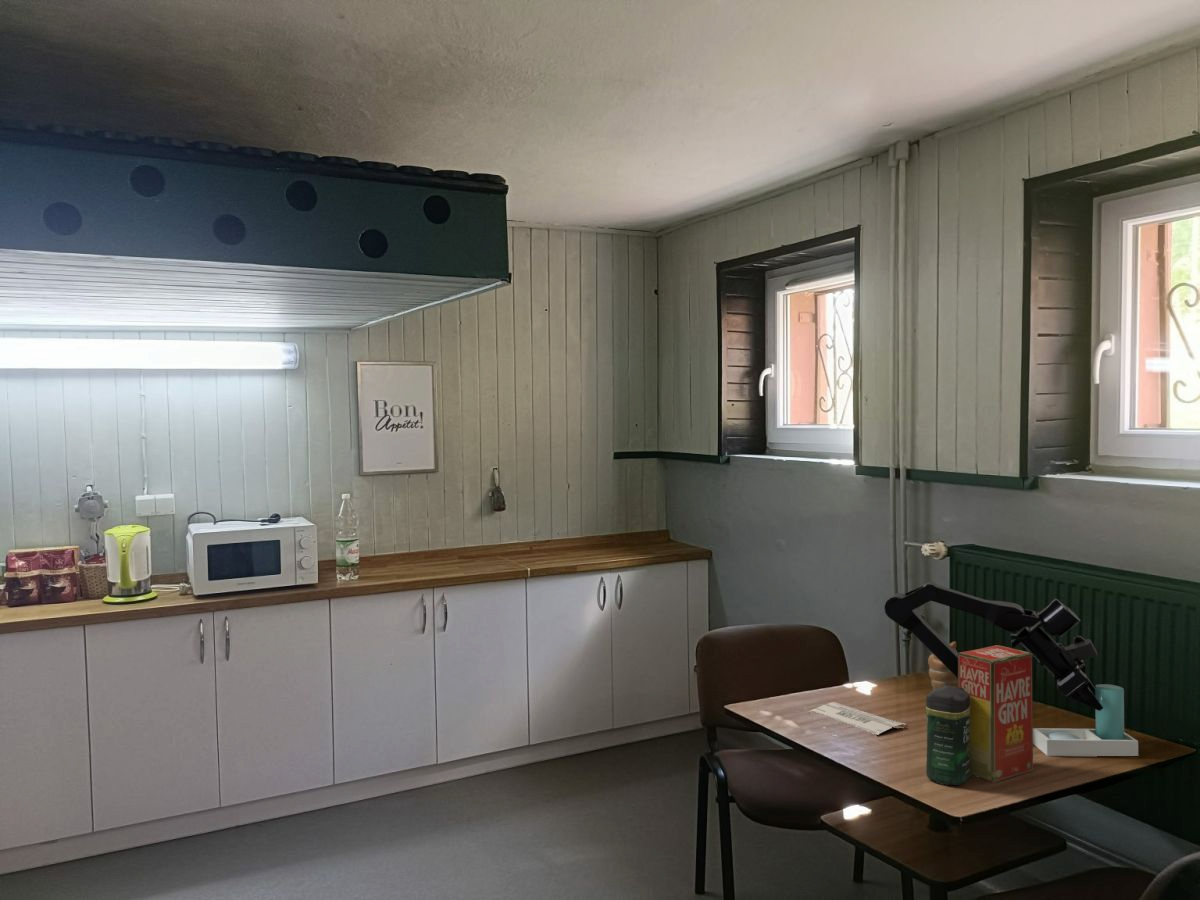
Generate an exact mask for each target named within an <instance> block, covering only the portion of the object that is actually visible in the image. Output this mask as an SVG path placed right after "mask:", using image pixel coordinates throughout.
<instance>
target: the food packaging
mask: <svg viewBox="0 0 1200 900" xmlns="http://www.w3.org/2000/svg"><path fill="white" fill-rule="evenodd" d="M957 653H958V687H960V688H963V689H964V690H965V691H966V692H967V693H968V694H969V695H970V762H971V775H972V776H975V777H977V776H978V777H977V778H981V779H983V780H985V781H988V782H991V783H993V782H995V783H997V782H1001V781H1003V780H1007V779H1011V778H1014V777H1017V776H1021V775H1023V774H1027V773H1030V772H1033V771H1034V744H1033V728H1034V727H1033V719H1034V718H1033V717H1034V716H1033V713H1034V710H1033V707H1034V706H1033V705H1034V704H1033V703H1034V701H1033V699H1034V698H1033V697H1034V696H1033V654H1032V653H1030V652H1029V651H1025V650H1021V649H1017V648H1013V647H1007V646H1004V645H999V644H998V645H997V644H996V645H992V646H987V647H981V648H978V649H973V650H968V651H963V652H962V651H961V652H957Z"/></svg>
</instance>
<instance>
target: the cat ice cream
mask: <svg viewBox="0 0 1200 900" xmlns="http://www.w3.org/2000/svg"><path fill="white" fill-rule="evenodd" d="M948 644H949V645H950V646H951V647H952V648H953V649H954V650H955V651H956V652H957V653H958V651H957V641H955V640H954V641H952V642H950V643H948ZM927 659H928V660H927V663H928V666H929V670H928V676H929V678H930V679H931V683H930V684H931V686H932V689H933V690H935V689H937V688H940V687H943V686H944V685H948V686H954V687H958V679H957V677H956V676H955V675H954V674H953V673H952V672H951V671H950V670H949V669H948V668H947V667H946V666H945V665H944V664H943V663H942V662H941V661H940V660H939V659H938V658H937V657H936V656H935V655H934V654H933V653H931V654H930V655H929V657H928V658H927Z"/></svg>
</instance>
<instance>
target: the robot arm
mask: <svg viewBox="0 0 1200 900" xmlns="http://www.w3.org/2000/svg"><path fill="white" fill-rule="evenodd" d="M928 602H935V603H937V604H941V605H943V606H947V607H949V608H953V609H955V610H959V611H963V612H965V613H969V614H972V615H975V616H979V617H981V618H982V619H985V620H987V621H988V622H989V623H991V624H993V625H995V626H996V627H999V628H1001V629H1003V630H1005V631H1007V632H1011V633H1010V636H1009V637H1010V639H1011V643H1010V644H1011V645H1010V646H1011V648H1013V649H1015V647H1016V646H1018V645H1019V644H1020V645H1022V646H1023V647H1024V648H1025V650H1027V652H1030V653H1032V654H1033V655H1032V657H1033V658H1035V659H1036V660H1037V661H1038V664H1039V665H1040V666H1041V667H1044V668H1045V669H1046V670H1047V671H1048V672H1049V673H1050V674H1051V675H1052V678H1053V679H1054V680H1055V681H1056V688H1057V691H1058V692H1059V693H1060V694H1061V695H1062V696H1063V697H1066V698H1068V699H1069V698H1070V699H1072V700H1074V701H1076V702H1078V703H1081V704H1083V705H1085V706H1088V707H1090V708H1092V709H1094V710H1095V709H1096V710H1099V711H1101V710H1102V709H1103V706H1102V705H1101V704H1100V702H1099V701H1098V700H1097V698H1096V697H1095V686H1094V685H1093V683H1092V682H1091V680H1090V678H1088V676H1087V674H1086V664H1085V663H1084V660H1087V659H1093V658H1097V657H1098V652H1097V650H1096V648H1095V646H1094V643H1093V642H1092V640H1091V639H1089V638H1084V637H1082V636H1081V635H1078V636H1074V637H1073V643H1071V644H1069V645H1067V646H1064V645H1063V644H1062V643H1061V642H1060V643H1059V642H1056V641H1055V640H1054V638H1052V637H1057V636H1059V637H1063V636H1064V635H1065V634H1066V633H1068V632H1069V631H1071V629H1072V628H1073V627H1075V626H1076V625H1078V624H1079V623H1080V622H1081V619H1080V618H1079V617H1078V616H1077V614H1076V613H1075V612H1074V611H1073V610H1072V609H1071V608H1070V607H1068V606H1066V605H1065V604H1064V603H1062V602H1061V601H1060V600H1059V599H1057V598H1054V599H1053V600H1052V601H1051V602H1050V603H1049V604H1048V605H1047V606H1046V607H1044V608H1043V609H1042V610H1041V611H1040V612H1039V611H1037V610H1031V609H1026V608H1025V609H1024V608H1023V606H1021V605H1020V604H1017V603H1014V602H1009V601H1002V600H990V599H984V598H981V597H977V596H974V595H971V594H968V593H964V592H961V591H958V590H955V589H952V588H949V587H945V586H942V585H938V584H937V583H935V582H934V581H933V582H932V581H931V582H930V581H929V582H926V583H924V584H923V585H921V586H919V587H916V588H914V589H911V590H909V591H907V592H905V593H899V592H897V593H893V594H892V595H891V596H890V597H889V598H888V599H887V600H886V601H885V605H884V613H885V615H886V616H887V617H888V618H889V619H890V620H892V621H893V622H894V623H896V624H897V625H899V626H900V627H902V628H904V629H905V630H907V631H909V632H910V633H911V634H913V635H914V636H915V637H916V638H917V639H918V640H919V641H920V642H921V643H922V644H923V645H924V646H925V647H926V648H927V649H928V650H929V652H931V654H934V655H935V656H936V657H937V658H938V659H939V660H940V661H941V662H942V663H943V664H944V665H945V666H946V667H947V668H948V669H949V670H950V671H951V672H952V673H953V674H954V675H955V676H956V677H957V679H958V653H959V652H958V651H957V650H956V651H957V652H956V651H955V650H954V649H953V648H952V647H951V646H950V645H949V644H950V643H948V642H947V641H946V640H944V638H943V637H942V636H941V635H940V634H939V633H938V632H937V631H936V630H935V629H934V628H932V627H931V626H930V624H928V622H927V621H926V620H924V618H923V616H922V614H921V612H920V611H919V609H918V608H920V607H922V606H923V605H925V604H927V603H928ZM1029 627H1030V628H1029ZM1041 627H1042V628H1041ZM1043 628H1044V630H1043ZM1012 632H1013V633H1012ZM1016 632H1018V633H1016ZM1050 635H1051V636H1052V637H1051V636H1050ZM1079 664H1080V665H1079Z"/></svg>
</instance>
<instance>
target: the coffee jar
mask: <svg viewBox="0 0 1200 900" xmlns="http://www.w3.org/2000/svg"><path fill="white" fill-rule="evenodd" d="M925 709H926V710H925V711H926V768H925V769H926V771H925V772H926V777H927V778H928V779H930V780H932V781H934V782H935V783H937V784H940V785H944V784H945V786H948V785H952V786H954V785H956V786H961V785H963V784H964V783H966V782H967V781H968V780H969V779H970V777H971V775H972V774H971V762H970V695H969V694H968V693H967V692H966V691H965V690H964V689H963V688H960V687H954V686H948V685H944V686H943V687H940V688H937V689H935V690H934V689H933V690H931V691H930V692H928V694H926V699H925Z"/></svg>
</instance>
